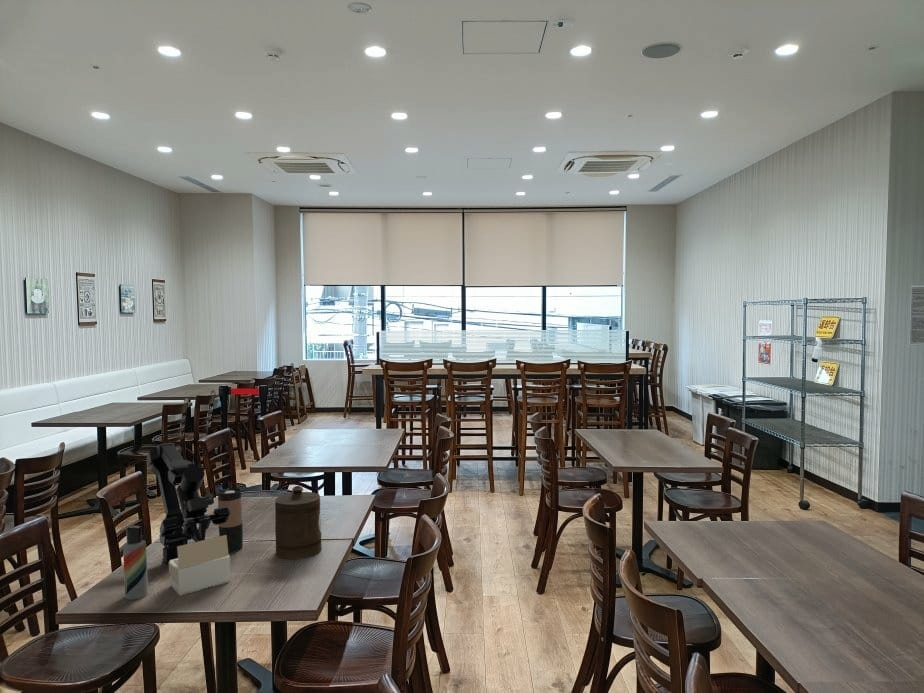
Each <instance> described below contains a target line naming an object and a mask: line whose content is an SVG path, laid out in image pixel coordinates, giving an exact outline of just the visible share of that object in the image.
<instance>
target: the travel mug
mask: <svg viewBox="0 0 924 693" xmlns="http://www.w3.org/2000/svg"><path fill="white" fill-rule="evenodd" d="M242 500H243V498H242V489H241V488H239V487H231V488H230V489H227V490H225V489H220V490H218V491H217V508H220V507H225V506H226V507H227V508H229V510H230V515H229V517H228V520H227V522H225V523H222V524H218V537H219V536H224V535H227V545H228V552H230V553H235V552H234V551H236V552H238V551H237V550H239V551H241V550H242V549H243V548H244V545H243V544H244V543H243V539H244V538H243V532H244V531H243V530H244V528H243V525H244V524H243V523H244V522H243V502H242ZM241 548H242V549H241ZM240 549H241V550H240Z"/></svg>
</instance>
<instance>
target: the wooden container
mask: <svg viewBox="0 0 924 693" xmlns="http://www.w3.org/2000/svg"><path fill="white" fill-rule="evenodd" d="M291 491H292V492H291V493H290V492H289V493H286V494H285V493H284V494H282V495H279V496H277V497H276V499H275V503H274V506H275V514H274V516H275V518H274V519H275V524H274V525H275V527H274V528H275V531H274V532H275V533H274V534H275V554H276V556H277V557H278V558H281V559H283V560H284V559H285V560H301V558H302V559H306V558H310V557H312V556H315V555H317V554H319V553H320V552H321V551H322V547H323V546H322V520H321V519H322V518H321V495H320V494H319V493H316V492H314V491H313V492H311V491H304V488H303V487H302V486H301V485H295V486H294V487H292V490H291Z"/></svg>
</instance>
